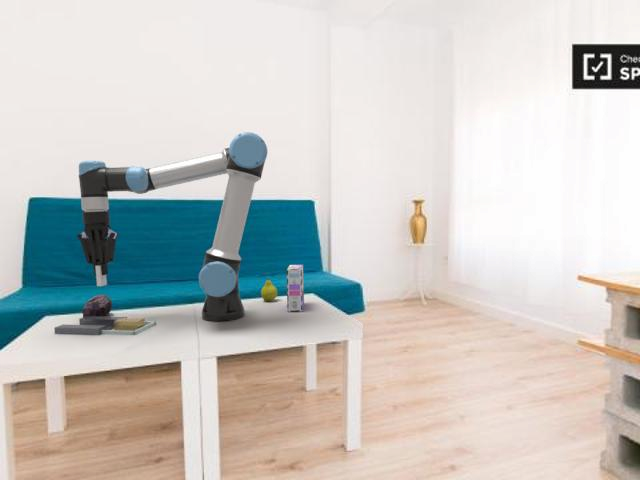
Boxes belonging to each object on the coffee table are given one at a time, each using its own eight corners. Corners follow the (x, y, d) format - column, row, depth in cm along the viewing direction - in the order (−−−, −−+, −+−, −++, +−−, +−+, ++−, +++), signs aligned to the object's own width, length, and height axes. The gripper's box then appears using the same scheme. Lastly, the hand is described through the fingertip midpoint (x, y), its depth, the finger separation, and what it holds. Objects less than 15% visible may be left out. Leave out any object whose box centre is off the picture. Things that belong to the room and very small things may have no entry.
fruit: (279, 299, 179) (278, 271, 179) (275, 302, 173) (275, 274, 172) (263, 299, 180) (262, 272, 179) (259, 302, 173) (258, 274, 172)
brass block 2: (145, 330, 132) (144, 318, 132) (137, 334, 128) (137, 321, 128) (133, 330, 133) (133, 318, 133) (126, 334, 129) (125, 321, 129)
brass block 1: (133, 330, 133) (133, 318, 133) (126, 334, 129) (125, 321, 129) (122, 330, 134) (121, 318, 133) (114, 333, 130) (113, 321, 129)
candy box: (302, 312, 156) (301, 268, 155) (287, 312, 156) (286, 268, 155) (304, 303, 169) (303, 264, 168) (290, 304, 170) (289, 264, 168)
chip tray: (156, 329, 136) (155, 321, 136) (135, 339, 125) (134, 331, 124) (125, 328, 138) (124, 320, 138) (101, 338, 126) (101, 330, 126)
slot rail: (127, 327, 139) (127, 317, 139) (99, 340, 125) (98, 328, 125) (87, 326, 141) (86, 316, 141) (55, 338, 127) (54, 327, 127)
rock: (79, 328, 143) (110, 325, 146) (75, 305, 142) (107, 302, 144) (89, 315, 155) (118, 312, 157) (86, 293, 153) (115, 291, 155)
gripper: (122, 210, 133) (128, 282, 134) (85, 212, 135) (91, 283, 136) (106, 210, 125) (113, 287, 127) (68, 212, 127) (75, 288, 129)
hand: (102, 285), depth 132 cm, fingers closed
